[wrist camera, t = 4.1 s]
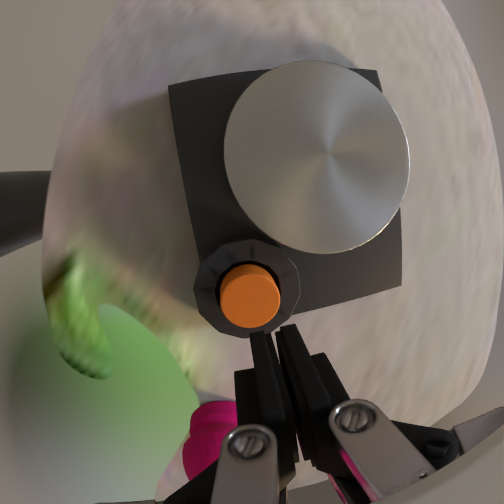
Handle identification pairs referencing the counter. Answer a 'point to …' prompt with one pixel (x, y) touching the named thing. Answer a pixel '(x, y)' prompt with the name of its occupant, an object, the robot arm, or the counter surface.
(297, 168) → the weighing plate
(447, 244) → the counter surface
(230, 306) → the button
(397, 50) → the counter surface
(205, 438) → the pepper mill
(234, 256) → the scale
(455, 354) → the counter surface
